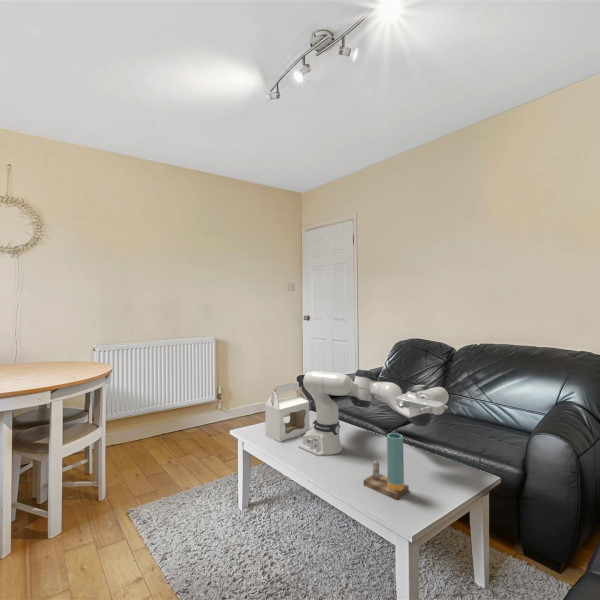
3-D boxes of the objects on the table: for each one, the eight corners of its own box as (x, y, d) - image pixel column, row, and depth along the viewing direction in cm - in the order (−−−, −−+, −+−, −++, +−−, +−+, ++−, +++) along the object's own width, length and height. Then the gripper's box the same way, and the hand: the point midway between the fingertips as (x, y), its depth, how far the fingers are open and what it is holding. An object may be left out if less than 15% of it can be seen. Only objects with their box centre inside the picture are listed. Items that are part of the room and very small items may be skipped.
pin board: (363, 485, 143) (363, 462, 143) (376, 477, 150) (376, 455, 150) (396, 499, 132) (395, 475, 132) (408, 490, 139) (408, 467, 139)
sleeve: (385, 487, 138) (384, 435, 138) (393, 481, 142) (392, 431, 142) (398, 492, 134) (397, 439, 134) (406, 487, 138) (405, 435, 138)
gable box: (295, 425, 213) (294, 379, 213) (310, 431, 203) (309, 383, 203) (265, 435, 198) (264, 385, 198) (279, 442, 188) (278, 389, 188)
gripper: (449, 414, 148) (434, 422, 139) (405, 404, 163) (389, 411, 153) (449, 399, 148) (434, 406, 139) (405, 390, 163) (389, 396, 153)
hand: (410, 408), depth 146 cm, fingers open, 8 cm apart
